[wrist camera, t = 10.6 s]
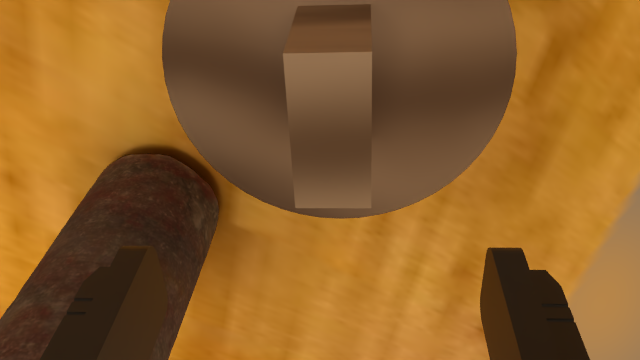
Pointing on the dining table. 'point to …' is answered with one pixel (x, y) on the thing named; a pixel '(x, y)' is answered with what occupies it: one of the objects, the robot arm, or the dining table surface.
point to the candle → (108, 237)
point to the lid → (339, 95)
